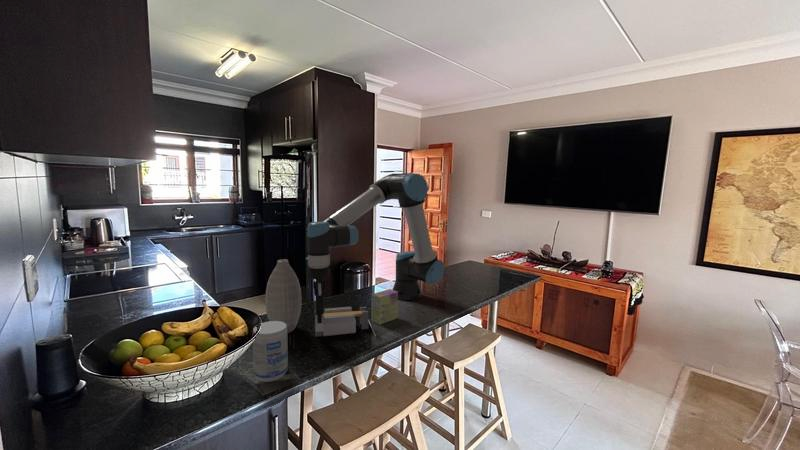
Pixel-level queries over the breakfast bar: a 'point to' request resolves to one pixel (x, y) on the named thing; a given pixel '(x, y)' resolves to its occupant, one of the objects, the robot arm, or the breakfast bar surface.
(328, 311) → the base
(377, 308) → the box
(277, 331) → the supplement tub
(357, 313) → the strap
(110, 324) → the breakfast bar surface
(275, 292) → the vase
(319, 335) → the lock
